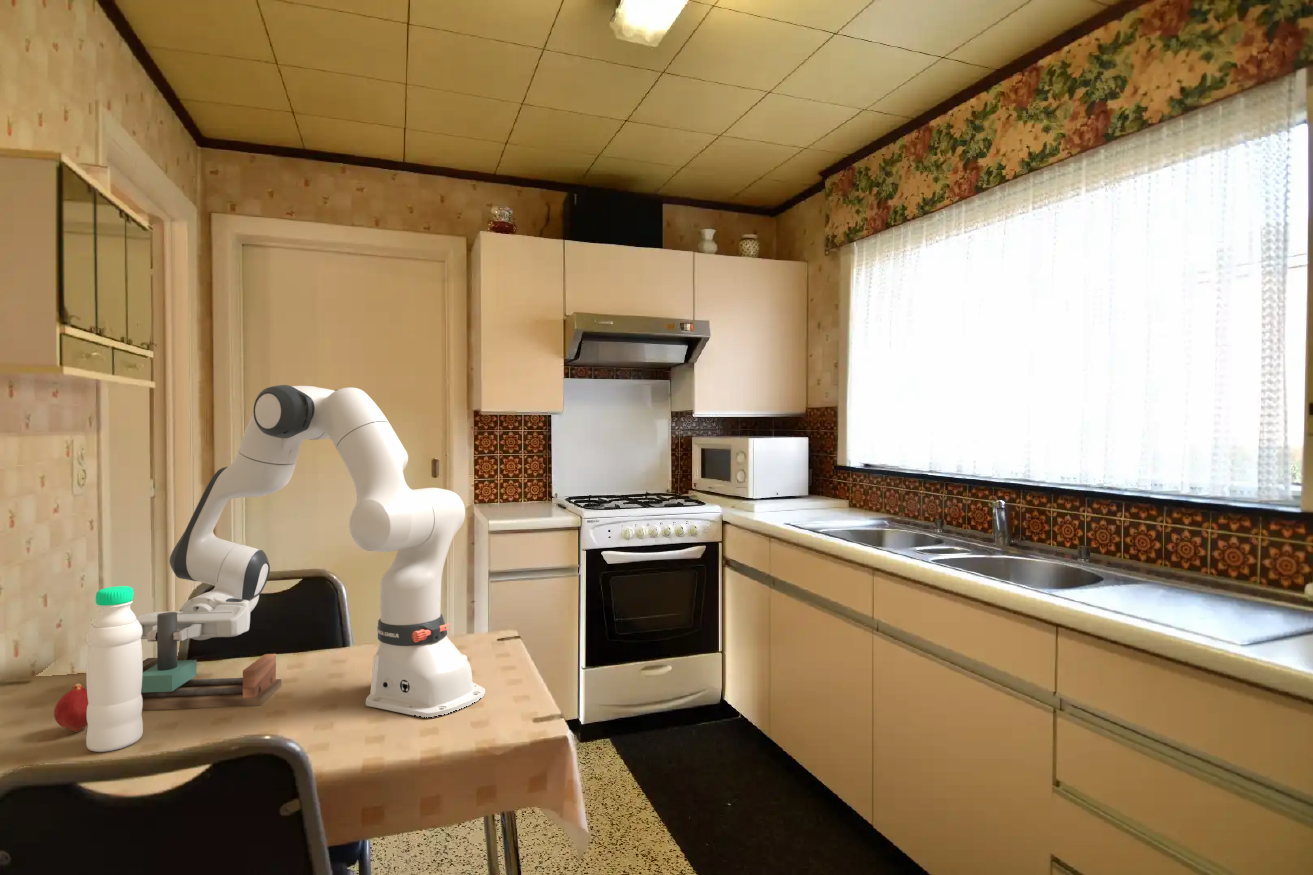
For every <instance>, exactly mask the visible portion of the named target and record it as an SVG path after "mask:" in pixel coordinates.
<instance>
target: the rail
mask: <svg viewBox="0 0 1313 875" xmlns="http://www.w3.org/2000/svg"><path fill="white" fill-rule="evenodd" d="M276 663H277V654H276V653H264V654H263V655H262V656H261V657H259V658H258V659H256V660H255V661H253V662H252V663H251V664H249V665H247V667H246V668H244V669H243V670H242V677H224V678H222V677H221V678H201V679H200V678H199V679H196V678H195V679H194V678H192V679H190V680H189V681H187V682H186V683H184V684H183V685H181V686H180V687H178V688H177V689H175V690H174V691H171V692H145V693H141V695H142V701H143V707H142V711H152V710H155V711H156V710H177V709H178V710H179V709H180V710H182V709H183V710H185V709H203V708H204V709H207V708H227V707H230V708H231V707H252V706H253V707H254V706H261V705H262V704H264V703H265V702H266V701H267V700H268V699H269V698H271V697H272V695H274V693H276V692H278V690H279V689H281V687H282V678H277V664H276ZM156 664H157V657H147V658H145V659H144V660H143V672H144V671H146V670H148V669H149V668H151V667H153V666H155V665H156Z"/></svg>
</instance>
